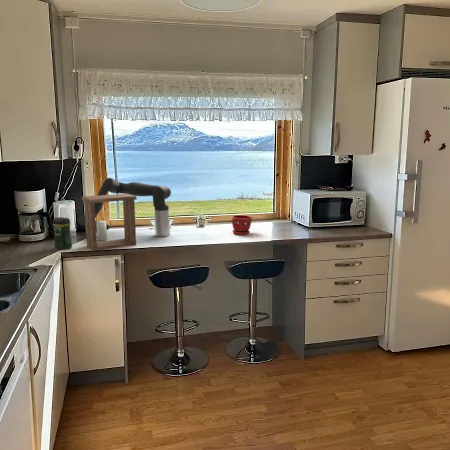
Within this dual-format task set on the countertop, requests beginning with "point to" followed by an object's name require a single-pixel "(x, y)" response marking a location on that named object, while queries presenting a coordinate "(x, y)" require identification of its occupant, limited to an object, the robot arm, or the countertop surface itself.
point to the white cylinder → (101, 231)
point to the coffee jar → (62, 233)
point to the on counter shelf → (128, 221)
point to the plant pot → (241, 224)
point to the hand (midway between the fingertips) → (100, 229)
